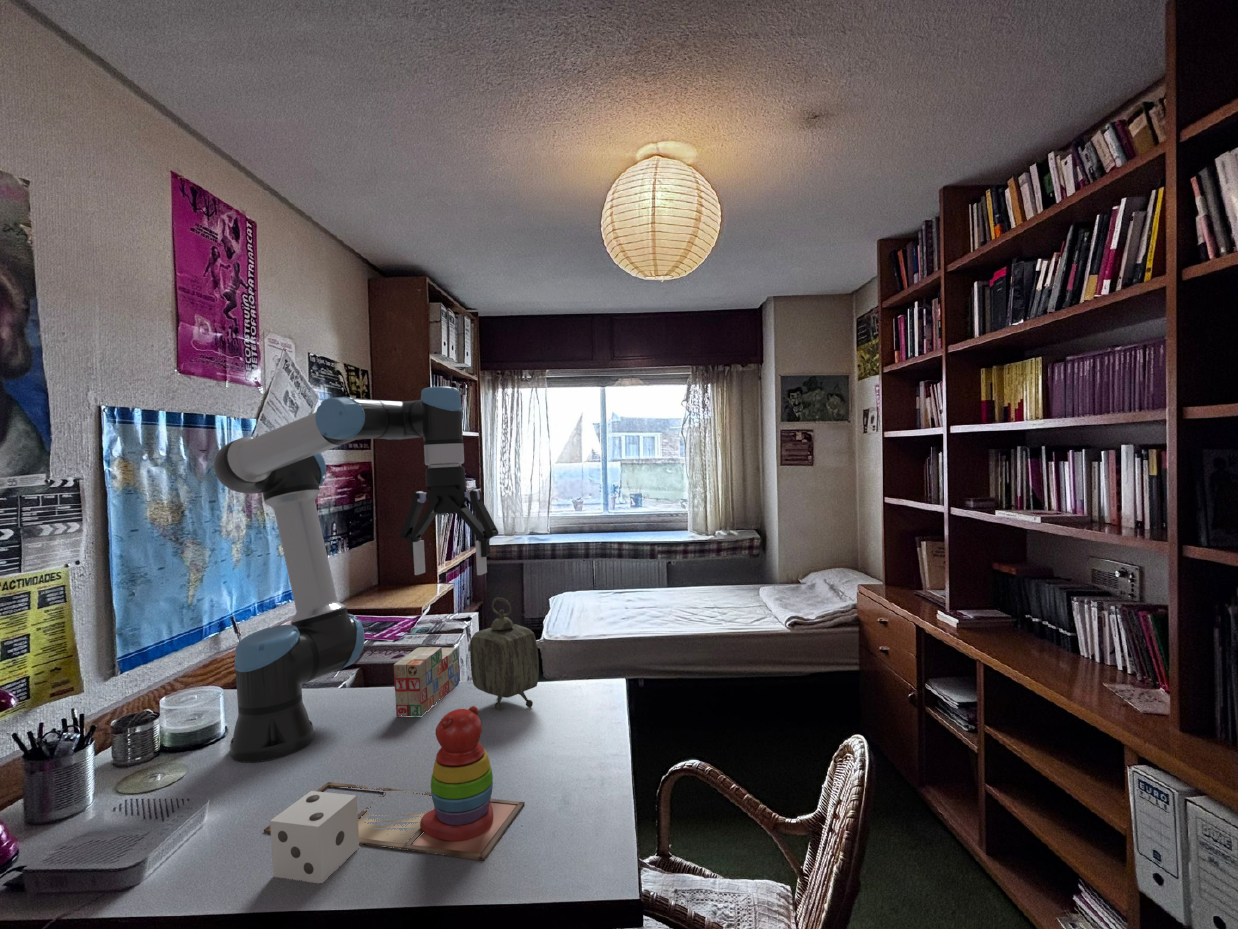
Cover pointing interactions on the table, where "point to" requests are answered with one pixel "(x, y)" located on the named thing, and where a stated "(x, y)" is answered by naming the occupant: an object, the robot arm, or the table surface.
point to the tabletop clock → (504, 658)
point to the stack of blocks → (424, 679)
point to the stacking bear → (460, 780)
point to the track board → (425, 843)
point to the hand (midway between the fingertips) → (450, 574)
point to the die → (314, 836)
